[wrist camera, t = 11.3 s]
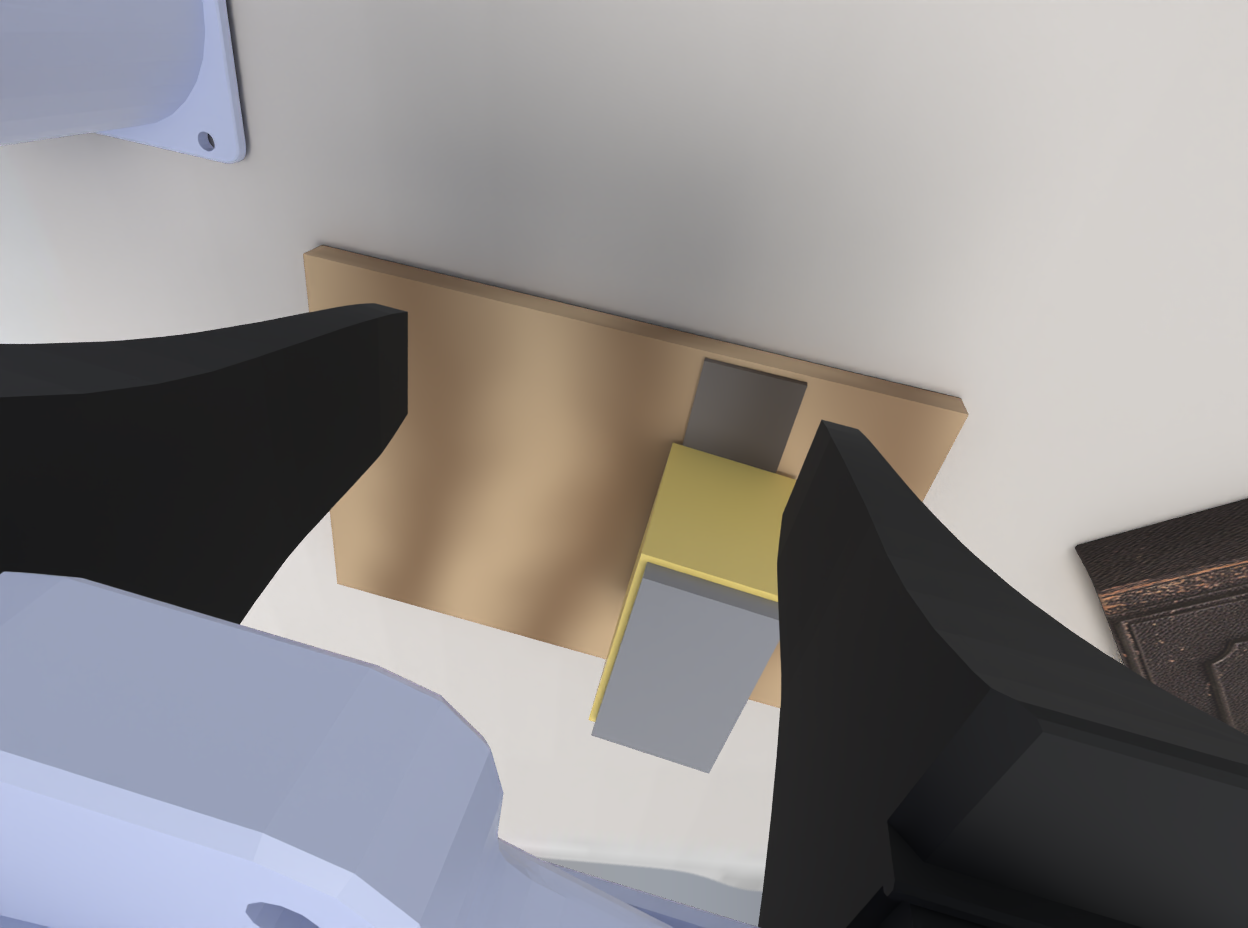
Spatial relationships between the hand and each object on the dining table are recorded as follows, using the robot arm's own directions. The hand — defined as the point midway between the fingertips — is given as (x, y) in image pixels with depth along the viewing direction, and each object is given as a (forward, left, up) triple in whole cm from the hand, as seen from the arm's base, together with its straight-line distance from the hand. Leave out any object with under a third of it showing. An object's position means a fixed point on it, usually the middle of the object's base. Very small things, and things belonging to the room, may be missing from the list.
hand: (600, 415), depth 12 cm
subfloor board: (-1, -9, -9) cm, 13 cm away
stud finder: (+3, -9, -8) cm, 12 cm away
